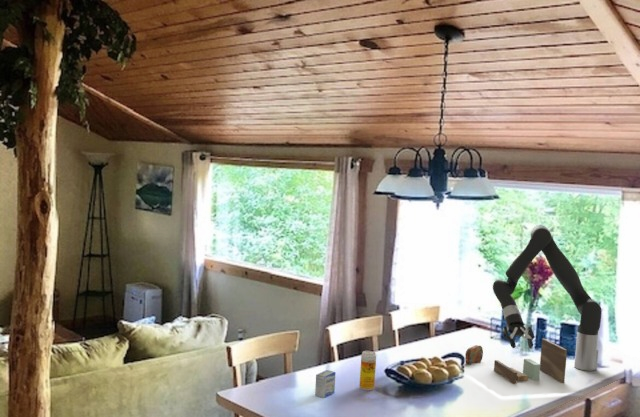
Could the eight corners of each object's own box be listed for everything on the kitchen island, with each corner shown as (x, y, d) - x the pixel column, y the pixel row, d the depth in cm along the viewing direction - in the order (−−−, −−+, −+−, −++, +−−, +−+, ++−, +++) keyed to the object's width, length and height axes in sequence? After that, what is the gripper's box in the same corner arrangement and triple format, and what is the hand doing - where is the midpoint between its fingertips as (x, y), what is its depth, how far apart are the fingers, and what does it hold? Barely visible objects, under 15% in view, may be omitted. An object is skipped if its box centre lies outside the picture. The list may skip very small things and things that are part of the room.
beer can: (364, 391, 271) (366, 355, 270) (356, 386, 276) (358, 351, 275) (377, 390, 274) (379, 354, 273) (369, 385, 279) (371, 349, 278)
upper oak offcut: (511, 371, 305) (511, 367, 305) (527, 380, 294) (528, 376, 294) (502, 372, 303) (502, 367, 303) (517, 380, 292) (518, 376, 292)
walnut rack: (542, 372, 312) (545, 338, 311) (564, 385, 294) (567, 349, 293) (493, 373, 306) (496, 338, 305) (512, 386, 289) (515, 349, 288)
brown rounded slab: (469, 368, 312) (470, 350, 312) (463, 366, 314) (464, 348, 314) (482, 361, 324) (484, 344, 324) (476, 360, 326) (478, 343, 326)
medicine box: (324, 398, 261) (325, 376, 260) (314, 395, 263) (315, 374, 262) (334, 393, 267) (335, 371, 267) (325, 390, 270) (326, 369, 269)
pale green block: (528, 376, 305) (529, 358, 305) (539, 382, 296) (540, 364, 296) (522, 376, 305) (523, 358, 304) (532, 382, 296) (534, 364, 295)
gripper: (502, 312, 314) (511, 343, 304) (529, 313, 317) (540, 343, 307) (495, 321, 320) (505, 351, 310) (523, 321, 323) (533, 351, 312)
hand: (522, 347), depth 308 cm, fingers open, 8 cm apart
